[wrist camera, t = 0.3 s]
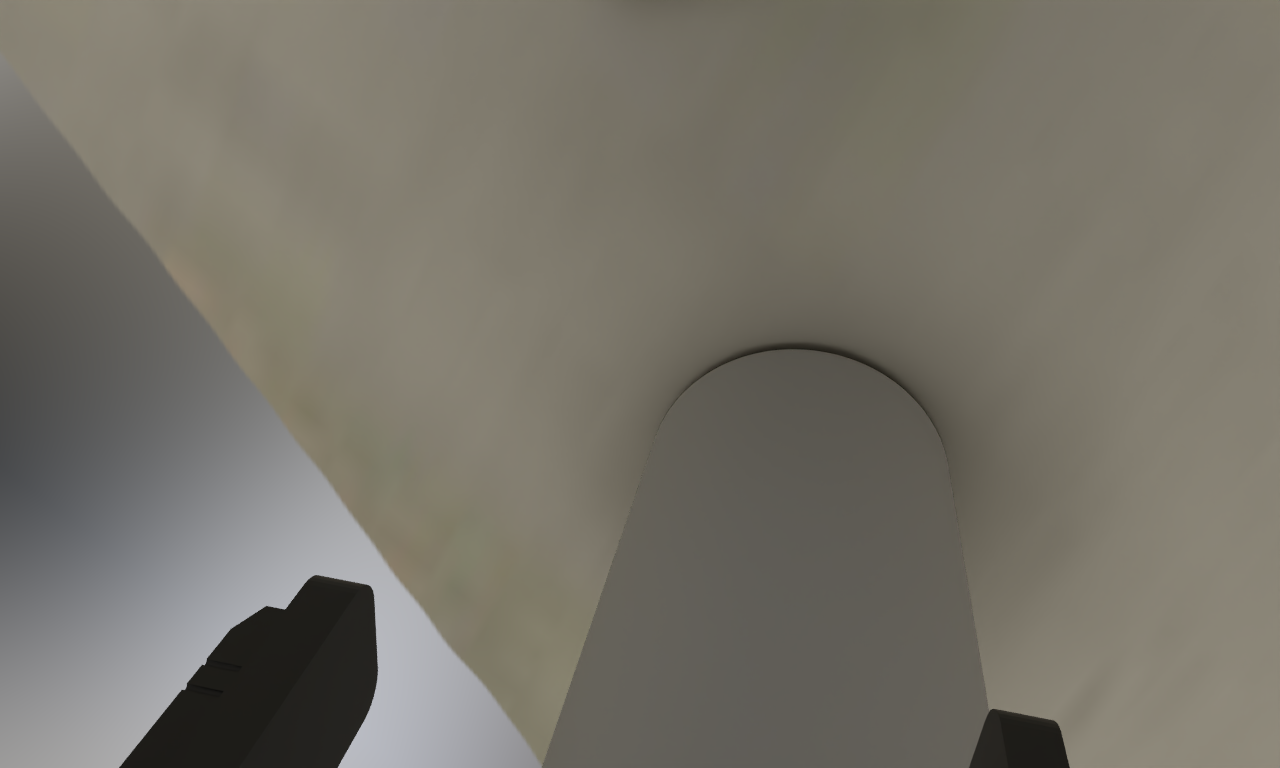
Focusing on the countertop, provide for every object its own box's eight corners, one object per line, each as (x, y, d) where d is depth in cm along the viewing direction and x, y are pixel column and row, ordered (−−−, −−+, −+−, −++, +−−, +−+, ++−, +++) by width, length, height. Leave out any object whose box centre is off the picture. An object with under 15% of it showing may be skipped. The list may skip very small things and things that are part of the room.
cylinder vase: (966, 352, 40) (1111, 947, 18) (929, 605, 45) (1003, 1295, 23) (652, 331, 42) (433, 842, 20) (653, 576, 47) (484, 1185, 25)
